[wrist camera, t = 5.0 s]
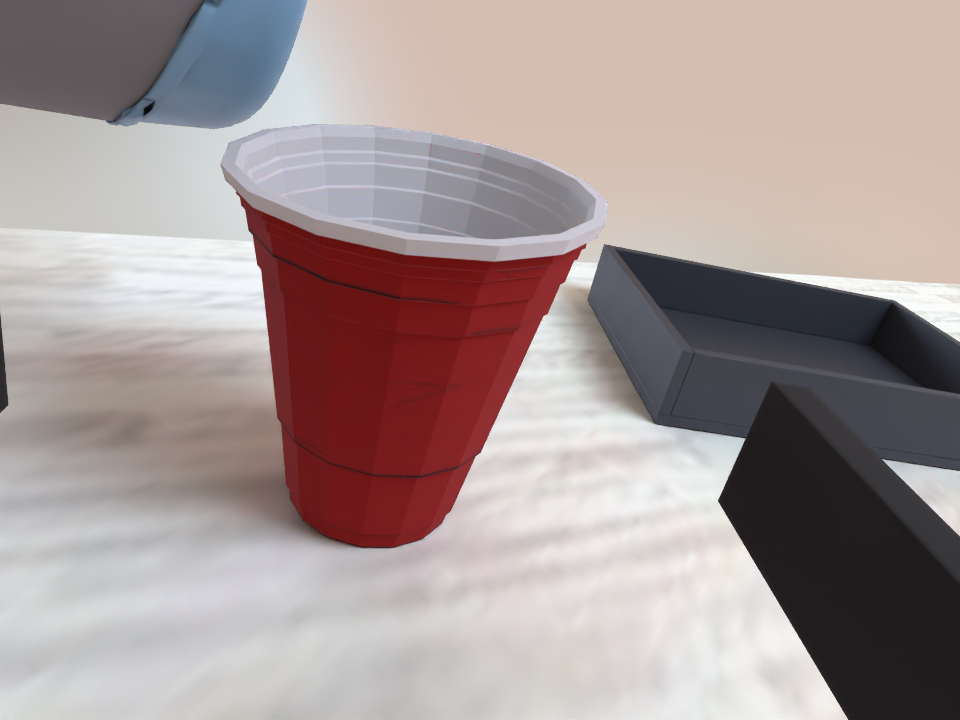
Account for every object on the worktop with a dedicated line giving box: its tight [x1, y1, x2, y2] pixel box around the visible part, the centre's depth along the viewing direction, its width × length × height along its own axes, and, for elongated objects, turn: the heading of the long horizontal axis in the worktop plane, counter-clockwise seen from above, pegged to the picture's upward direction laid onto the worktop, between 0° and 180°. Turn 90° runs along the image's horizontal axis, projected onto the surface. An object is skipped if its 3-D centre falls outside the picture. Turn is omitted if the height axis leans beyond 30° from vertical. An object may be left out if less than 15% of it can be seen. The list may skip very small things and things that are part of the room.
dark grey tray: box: [588, 244, 960, 470], centre depth 43 cm, size 22×16×4 cm
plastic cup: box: [220, 124, 608, 547], centre depth 22 cm, size 11×11×12 cm
